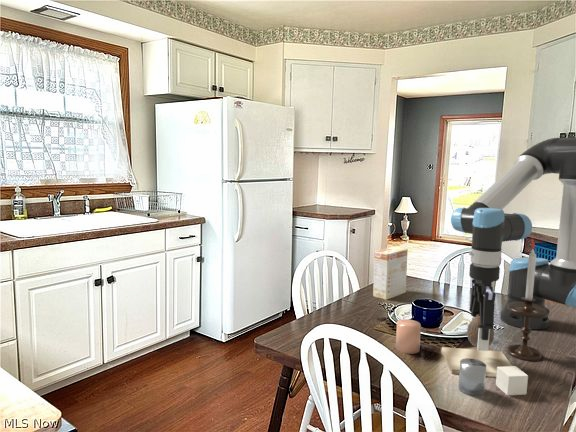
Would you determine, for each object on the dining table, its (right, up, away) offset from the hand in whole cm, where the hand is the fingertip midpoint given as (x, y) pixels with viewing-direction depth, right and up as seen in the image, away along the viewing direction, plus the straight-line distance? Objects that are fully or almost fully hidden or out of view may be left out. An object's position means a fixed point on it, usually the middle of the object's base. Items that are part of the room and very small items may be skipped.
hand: (478, 344), depth 122 cm
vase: (0, -1, 0) cm, 1 cm away
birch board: (0, -6, +1) cm, 6 cm away
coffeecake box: (-10, +2, +63) cm, 64 cm away
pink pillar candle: (-17, -4, +10) cm, 21 cm away
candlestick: (+17, -5, +7) cm, 19 cm away
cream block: (+3, -8, -13) cm, 15 cm away
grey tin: (-8, -8, -13) cm, 17 cm away
